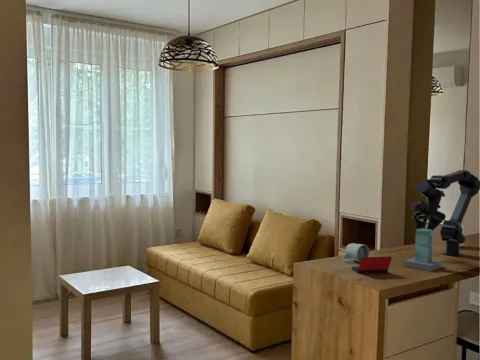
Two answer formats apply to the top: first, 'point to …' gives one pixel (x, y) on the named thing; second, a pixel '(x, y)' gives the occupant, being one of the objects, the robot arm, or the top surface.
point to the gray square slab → (422, 264)
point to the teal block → (423, 245)
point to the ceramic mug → (355, 252)
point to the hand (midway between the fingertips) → (421, 234)
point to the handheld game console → (373, 265)
